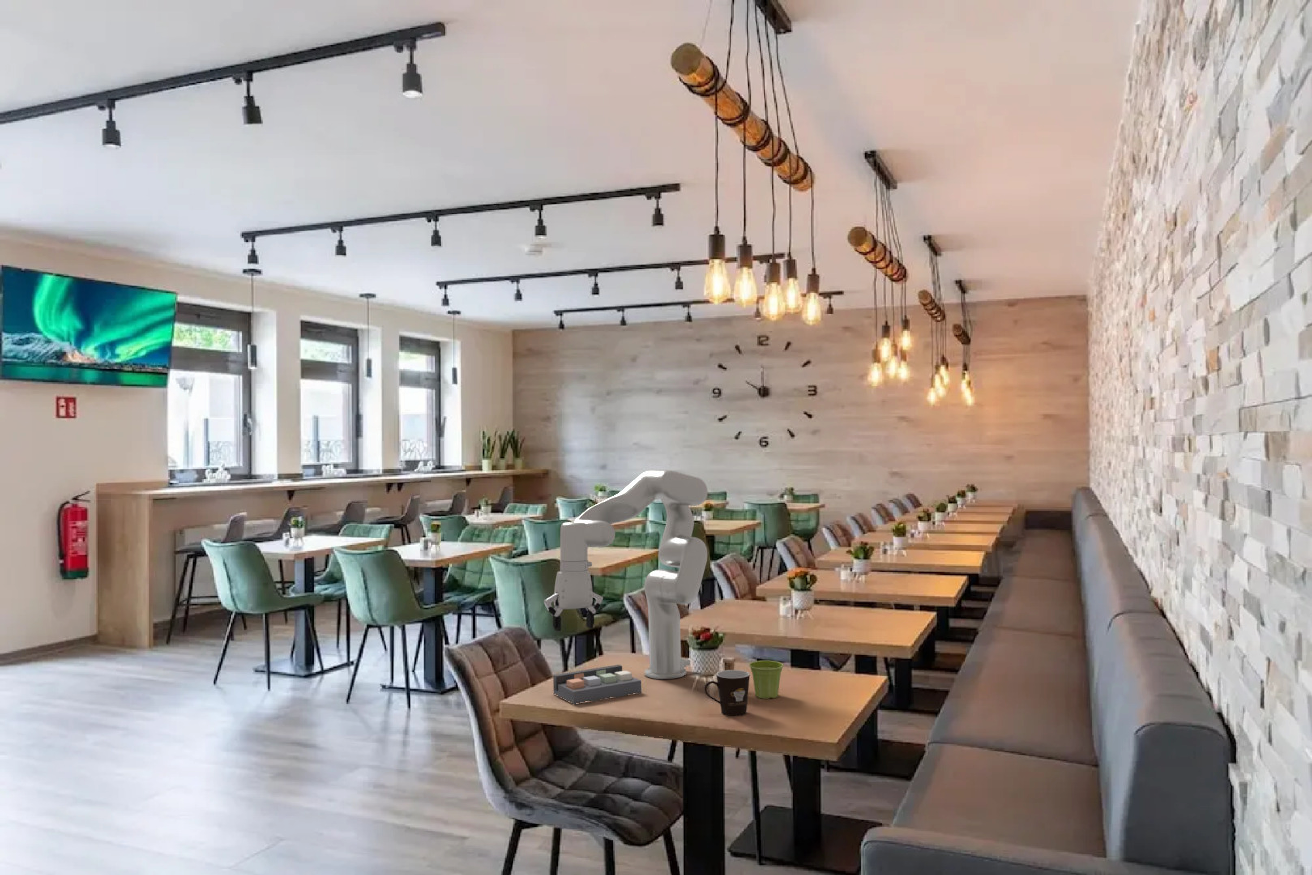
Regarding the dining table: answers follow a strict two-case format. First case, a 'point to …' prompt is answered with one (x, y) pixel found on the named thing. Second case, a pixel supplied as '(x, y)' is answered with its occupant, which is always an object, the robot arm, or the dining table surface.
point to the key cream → (623, 675)
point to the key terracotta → (575, 683)
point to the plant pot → (766, 678)
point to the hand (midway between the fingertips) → (573, 629)
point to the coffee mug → (732, 691)
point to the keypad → (597, 690)
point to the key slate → (591, 680)
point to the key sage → (607, 678)
